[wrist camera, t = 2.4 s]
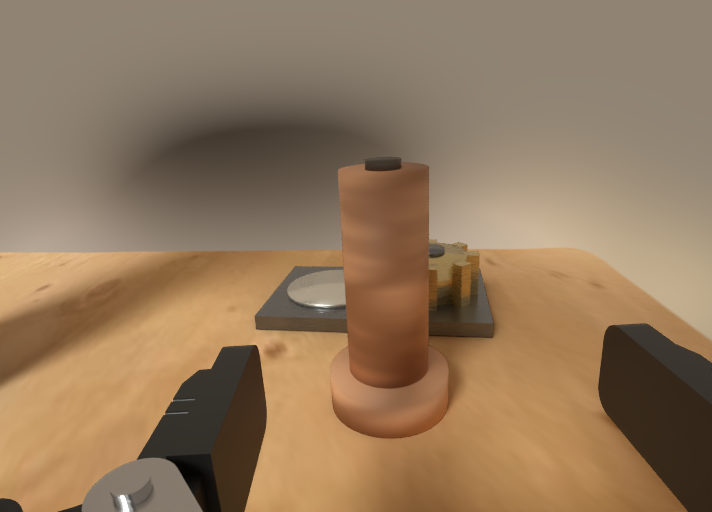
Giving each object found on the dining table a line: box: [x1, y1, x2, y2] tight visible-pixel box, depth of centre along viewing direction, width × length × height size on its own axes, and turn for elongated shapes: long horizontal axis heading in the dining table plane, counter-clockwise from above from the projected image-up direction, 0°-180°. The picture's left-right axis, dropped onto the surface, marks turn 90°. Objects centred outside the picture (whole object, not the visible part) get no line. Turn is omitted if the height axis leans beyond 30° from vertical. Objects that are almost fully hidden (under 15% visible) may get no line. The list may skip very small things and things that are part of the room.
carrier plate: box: [255, 266, 494, 337], centre depth 36 cm, size 16×10×1 cm, turn 81°
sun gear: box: [429, 240, 479, 311], centre depth 34 cm, size 7×7×3 cm
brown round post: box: [330, 157, 449, 438], centre depth 22 cm, size 6×6×12 cm
